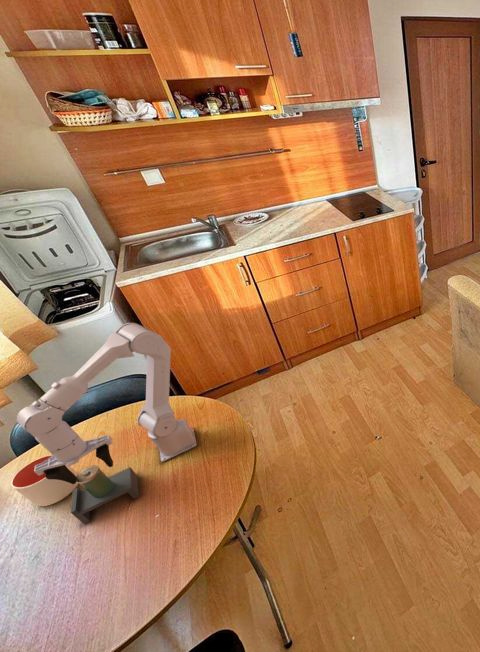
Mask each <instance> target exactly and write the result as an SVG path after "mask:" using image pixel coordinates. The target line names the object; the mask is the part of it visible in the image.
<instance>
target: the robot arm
mask: <svg viewBox="0 0 480 652" xmlns="http://www.w3.org/2000/svg"><path fill="white" fill-rule="evenodd" d="M133 353H136V354H139V355H145V356H146V374H145V375H146V376H145V403H144V404H143V405H141V407H140V412H139V414H138V416H137V418H136V422H137V424H138V426H140V427H141V428H144V429H145V430H146V431H147V437H148V438H149V439H150V441H152V443H153V444H154V446H155V447H156V448H157V450H158V451H159V456H160V457H159V458H160V462H161V463H163V462H166V461H168V460H170V459H172V458H174V457H176V456H179V455H180V454H182V453H185V452H187V451H189V450H191V449H193V448H196V447H197V445H198V444H197V438H196V432H195V431H194V428H192V426H191V425H190V423H189V422H188V420H187V419H186V418H180V419H176V418H175V412H174V410H173V408H172V406H171V404H170V385H171V384H170V383H171V382H170V381H171V360H172V359H171V354H172V348H171V346H170V345H169V344H168V343H167V342H166V341H165V339H163V336H162V335H160V334H159V333H156V332H154V331H152V330H150V329H149V328H147V327H146V326H143V325H141V324H139V323H136V322H127V323H124V324H122V325H120V326H119V327H118V328H116V330H115V331H114V332H112V333H110V334H109V336H108V337H107V339H106V340H105V342H104V344H103V345H102V346H100V348H98V350H97V351H96V352H95V353H94V354H93V355H92V356H91V357H90V358H89V359H88V360H87V361H86V362H85V363H83V365H82V366H81V367H80V368H79V369H78V370H77V371H76V372H75V373H74V374H73V375H71V376H66V377H62V378H61V379H60V380H59V381H54V382H53V383H52V384H51V385H50V387H51V388H50V389H49V390H48V391H46V392H45V393H44V394H43V395H42V396H41V397H40V398H39V399H37V400H35V401H34V402H32V403H31V404H30V405H27V406H25V407H23V408H21V410H20V411H19V412H18V413H17V414H16V415H17V417H16V423H17V425H19V426H21V427H22V428H23V429H24V430H25V431H26V432H27V433H29V434H30V435H31V436H32V437H34V439H35V440H36V441H37V442H38V443H39V444H40V445H41V446H42V447H43V448H44V449H45V450H46V451H47V452H49V453H50V455H53V456H52V457H51V458H49V459H47V460H46V461H44V462H42V463H40V464H38V465H36V466H35V469H34V472H35V473H36V474H37V475H39V476H40V475H42V474H44V473H45V474H46V478H47V479H55V480H62V481H65V482H68V483H71V484H75V483H76V481H75V478H76V476H75V475H74V474H73V473H72V472H71V471H70V470H69V469H68V468H67V467H66V466H65V465H66V464H67V465H68V466H70V467H72V466H74V465H76V464H78V463H79V462H80V460H81V459H82V458H84V457H85V456H87V455H89V454H90V453H92V452H94V451H95V457H96V458H98V459H100V460H101V461H103V463H105V465H106V466H107V467H108V468H112V467H114V461H113V459H112V456H111V454H110V453H111V452H110V445H112V444H113V443H114V442H113V440H114V439H113V437H111V435H110V434H106V435H103V436H100V437H96V438H92V439H88V440H84V439H83V438H82V437H81V436H80V435H79V434H78V433H77V432H76V431H75V430H74V429H73V428H72V427H71V426H70V425H69V424H68V423H67V422H66V421H64V420H63V416H64V415H65V412H66V411H67V410H69V409H70V408H71V407H72V406H73V405H74V404H75V403H76V402H77V401H78V400H79V399H80V398H81V397H82V396H83V395H85V393H87V392H88V390H89V383H90V382H91V381H92V380H93V379H95V378H96V377H97V376H99V374H100V373H102V372H103V371H104V370H106V369H107V368H108V367H109V366H110V365H112V364H113V363H114V362H115V361H116V360H118V359H125V358H131V357H135V354H133Z"/></svg>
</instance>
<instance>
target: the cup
mask: <svg viewBox="0 0 480 652" xmlns="http://www.w3.org/2000/svg"><path fill="white" fill-rule="evenodd" d="M52 456H53V455H52V454H48V455H44V456H42V457H39V458H37V459H35V460H33V461H31V462H29V463H27V464H26V465H25V466H23V467H22V468H21V469H19V470H18V471H17V472H16V473H15V475H14V476H13V478H12V479H11V482H10V486H11V488H13V489H14V490H15V491H17V492H18V493H19V494H20V495H22V497H24V498H26V500H28V501H29V502H31V503H32V505H34V506H37V507H47V506H50V505H53V504H56V503H58V502H60V501H62V500H63V499H65V498H66V497H68V496H69V495H70V494H71V493H73V489H75V488H77V487H78V485H79V483H77V482H76V483H75V484H71V483H68V482H65V481H62V480H55V479H47V478H46V474H45V473H44V474H42V475H40V476H39V475H37V474H36V473H35V472H34V469H35V466H36V465H38V464H40V463H42V462H44V461H46V460H47V459H49V458H51V457H52ZM65 466H66V467H67V468H68V469H69V470H70V471H71V472H72V473H73V474H74V475H75V476H77V474H78V473H79V472H77V471H76V470H75V469H74V468H72V466H68V465H67V464H66V465H65Z"/></svg>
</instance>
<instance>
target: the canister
mask: <svg viewBox="0 0 480 652" xmlns="http://www.w3.org/2000/svg"><path fill="white" fill-rule="evenodd" d="M77 473H78V474H77V476H76V478H75V481H76V482H77V483H78V485H80V486H81V487H82V489H85V490H87V491H88V492H89V493H90V494H91V495H92V496H93V497H94V498H100V497H103V496H105V495H107V494H108V493H109V492H110V491H111V490H112V489H113V487H114V483H113V482H112V481H111V480H110V479H109V478H108V477H109V476H107V474H105V472H103V470H102V469H101V468H100V467H99V466H98V465H95V464H94V465H89V466H87V467H85V468H83V469H82V470H80V471H79V472H77Z"/></svg>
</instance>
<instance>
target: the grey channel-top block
mask: <svg viewBox="0 0 480 652" xmlns="http://www.w3.org/2000/svg"><path fill="white" fill-rule="evenodd" d="M107 477H108V478H109V479H110V480H111V481H112V482H113V483H114V487H113V489H112V490H111V491H110V492H109V493H108V494H107V495H105V496H103V497H100V498H94V497H93V496H92V495H91V494H90V493H89V492H88V491H87V490H85V489H84V488H82V489H80V488H79V487H78V486H77V487H76V488H75V489H73V491H72V492H71V493H72V495H71V496H72V497H71V505H70V514H71V515H72V516H74V517H75V518H76V519H77V520H79V521H80V522H81V523H82V524H83V525H84V524H87V523H89V522H90V521H91V520H90V518H91V511H92V510H94V509H96V508H98V507H100V506H102V505H104V504H107V503H108V502H110V501H113V500H114V499H117V498H119V497H120V496H123V495H125V494H126V493H127V494H129V496H131V498H132V499H137V498H138V497H140V491H139V475H138V474H137V473H136V472H135V471H134V470H133V469H132V467H131V466H129V467H127V468H125V469H123V470H121V471H119V472H117V473H114V474H112V475H110V476H107Z"/></svg>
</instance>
